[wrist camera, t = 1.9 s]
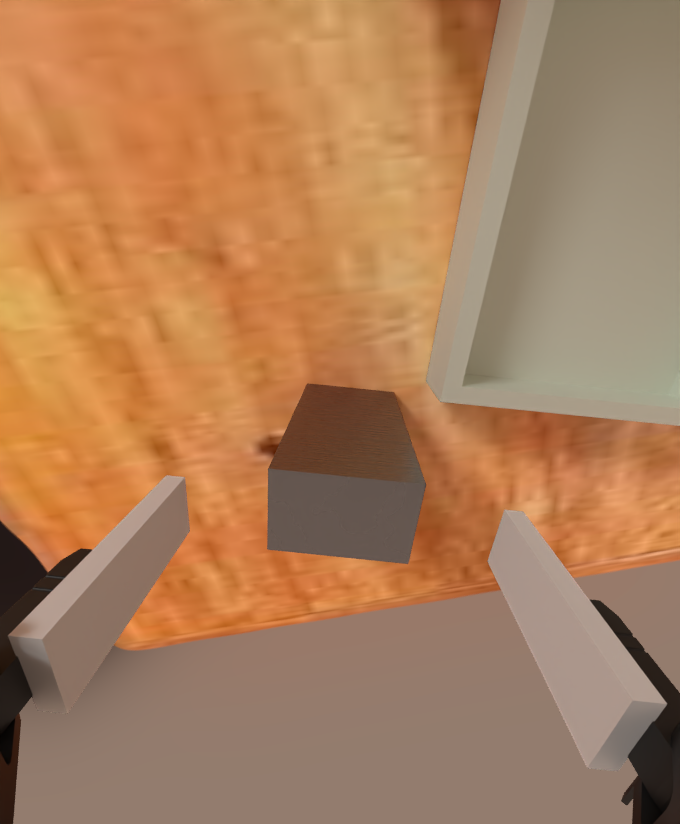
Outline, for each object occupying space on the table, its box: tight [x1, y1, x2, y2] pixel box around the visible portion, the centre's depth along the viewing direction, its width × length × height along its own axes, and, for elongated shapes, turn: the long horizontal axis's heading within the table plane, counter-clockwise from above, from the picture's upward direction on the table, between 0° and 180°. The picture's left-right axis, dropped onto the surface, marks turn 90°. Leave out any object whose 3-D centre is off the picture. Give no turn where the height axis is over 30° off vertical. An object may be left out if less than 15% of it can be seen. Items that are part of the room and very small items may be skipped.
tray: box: [426, 0, 680, 426], centre depth 17 cm, size 20×16×4 cm
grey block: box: [267, 384, 426, 564], centre depth 19 cm, size 10×6×11 cm, turn 175°
